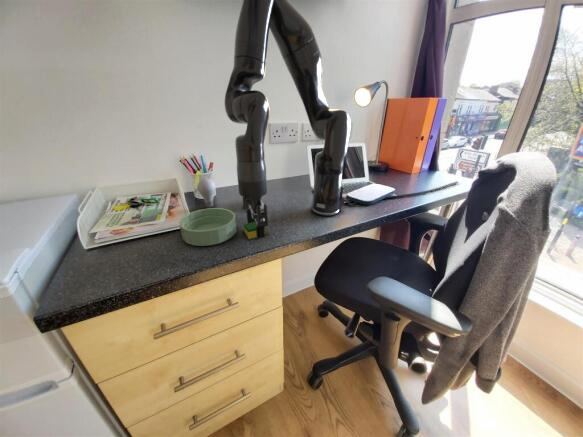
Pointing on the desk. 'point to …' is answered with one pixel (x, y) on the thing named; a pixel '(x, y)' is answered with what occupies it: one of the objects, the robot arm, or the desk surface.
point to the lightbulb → (207, 191)
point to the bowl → (208, 226)
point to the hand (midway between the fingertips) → (255, 230)
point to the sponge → (250, 230)
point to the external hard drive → (370, 194)
